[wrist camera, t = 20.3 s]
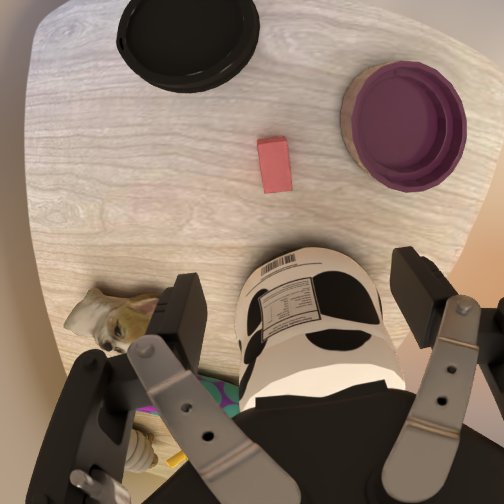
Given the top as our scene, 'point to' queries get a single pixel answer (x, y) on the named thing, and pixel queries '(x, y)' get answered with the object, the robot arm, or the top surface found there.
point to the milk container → (311, 328)
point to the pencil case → (214, 395)
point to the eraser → (274, 164)
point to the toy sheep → (140, 453)
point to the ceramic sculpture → (112, 319)
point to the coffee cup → (188, 41)
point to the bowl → (404, 125)
